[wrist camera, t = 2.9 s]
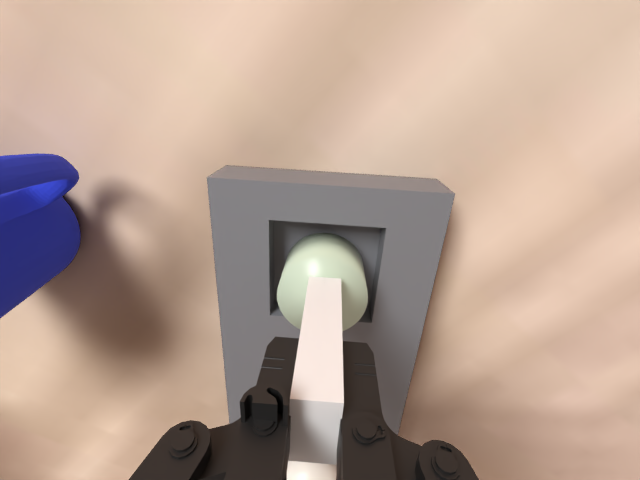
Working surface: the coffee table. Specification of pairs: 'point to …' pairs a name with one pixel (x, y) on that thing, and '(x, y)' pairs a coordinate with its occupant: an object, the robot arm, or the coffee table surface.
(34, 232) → the mug
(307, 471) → the button ivory
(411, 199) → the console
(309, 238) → the button sage
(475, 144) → the coffee table surface
